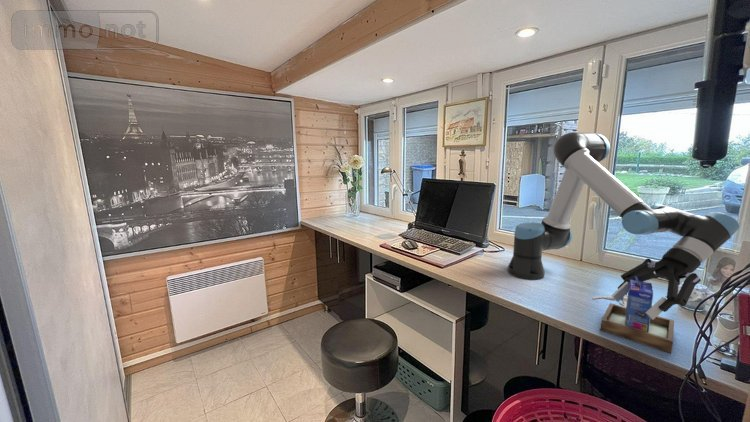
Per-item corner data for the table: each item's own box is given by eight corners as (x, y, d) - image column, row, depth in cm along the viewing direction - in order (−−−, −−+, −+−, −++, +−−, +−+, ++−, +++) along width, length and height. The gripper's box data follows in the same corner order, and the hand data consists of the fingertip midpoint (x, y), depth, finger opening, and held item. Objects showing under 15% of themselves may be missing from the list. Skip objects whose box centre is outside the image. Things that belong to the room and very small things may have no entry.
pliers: (592, 295, 111) (616, 289, 117) (591, 299, 111) (615, 292, 117) (622, 307, 102) (646, 299, 108) (621, 311, 102) (645, 303, 108)
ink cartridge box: (624, 313, 95) (630, 271, 93) (647, 319, 92) (654, 276, 89) (623, 326, 88) (630, 281, 85) (648, 333, 84) (656, 286, 82)
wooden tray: (600, 330, 90) (601, 319, 90) (608, 312, 101) (610, 303, 100) (670, 353, 79) (673, 341, 79) (672, 330, 90) (674, 320, 89)
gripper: (742, 278, 77) (679, 336, 78) (653, 252, 99) (605, 297, 100) (729, 259, 75) (664, 319, 77) (641, 237, 98) (592, 283, 99)
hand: (630, 306), depth 88 cm, fingers closed on ink cartridge box, 10 cm apart
